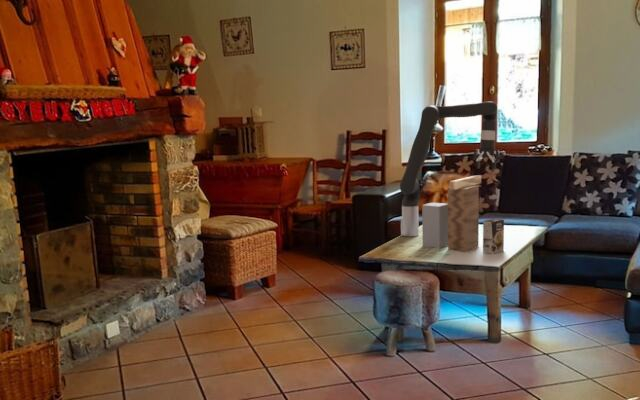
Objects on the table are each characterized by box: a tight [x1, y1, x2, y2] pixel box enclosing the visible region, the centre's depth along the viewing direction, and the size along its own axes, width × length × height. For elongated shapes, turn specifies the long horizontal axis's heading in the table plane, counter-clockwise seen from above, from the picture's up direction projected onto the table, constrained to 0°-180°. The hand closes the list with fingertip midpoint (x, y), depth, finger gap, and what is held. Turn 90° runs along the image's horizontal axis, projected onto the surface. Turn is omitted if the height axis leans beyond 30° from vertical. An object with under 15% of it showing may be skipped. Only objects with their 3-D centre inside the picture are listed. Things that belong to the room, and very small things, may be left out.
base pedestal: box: [421, 202, 448, 249], centre depth 323 cm, size 10×10×22 cm
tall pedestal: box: [447, 184, 480, 253], centre depth 314 cm, size 10×14×32 cm
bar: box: [449, 174, 482, 190], centre depth 314 cm, size 3×28×4 cm, turn 140°
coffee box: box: [482, 218, 505, 255], centre depth 306 cm, size 9×6×16 cm
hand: (485, 169), depth 332 cm, fingers open, 8 cm apart
